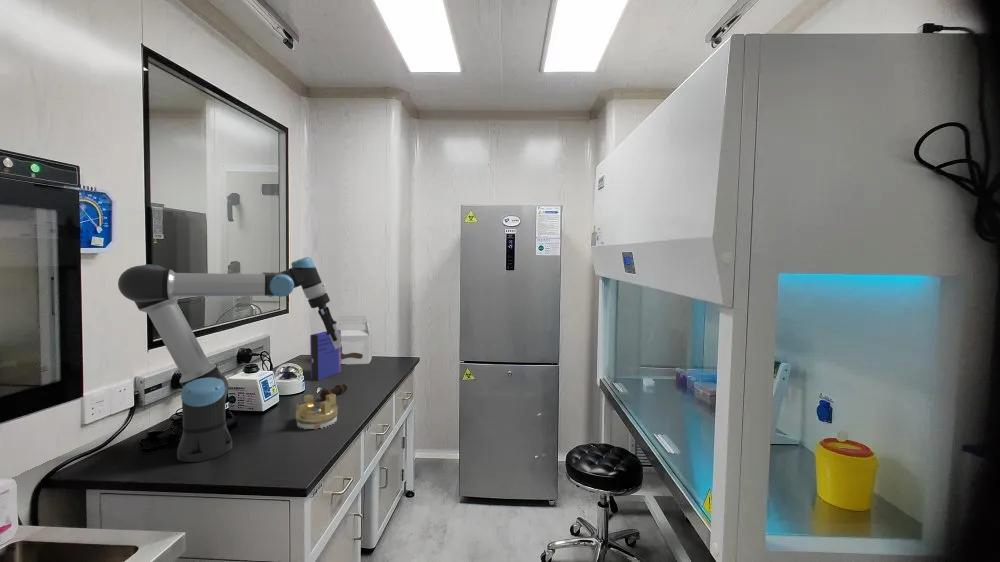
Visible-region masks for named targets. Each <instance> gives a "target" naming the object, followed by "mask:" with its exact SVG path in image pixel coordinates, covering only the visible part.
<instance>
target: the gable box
mask: <svg viewBox="0 0 1000 562" xmlns="http://www.w3.org/2000/svg"><path fill="white" fill-rule="evenodd" d="M336 319H337V320H336V323H335V325H336V327H337V330H339V325H364V327H365V328H364V329H347V330H346V329H344V330H341V329H340V330H341V342H349V343H355V342H363V344H364V345H363V348H362V351H361V353H359V352H350V353H343V346H342V347H341V364H346V365H368V364H370V363H371V361H372V359H373V357H372V355H373V354H372V351H373V349H372V347H373V346H372V342H373V340H372V335H373V334H372V329H371V321H368V320H367V318H366V316H365V315H362V316H361V315H360V316H358V315H357V316H338V317H337V318H336Z"/></svg>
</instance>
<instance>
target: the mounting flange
mask: <svg viewBox="0 0 1000 562" xmlns="http://www.w3.org/2000/svg"><path fill="white" fill-rule="evenodd" d="M337 421H338V416H337V417H335V418H334V419H332V420H330V421H327V422H323V423H317V424H303V423H299V422H297V421H296V426H297V428H299V427H300V428H299V429H301V428H304V429H303V430H306V429H314V430H319V429H318V428H321V429H324V428H323V427H325V428H328V427H330V426H329V425H331V426H333V425H334V424H336V423H337ZM335 422H336V423H335ZM332 424H333V425H332ZM327 426H328V427H327Z"/></svg>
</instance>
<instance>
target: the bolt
mask: <svg viewBox="0 0 1000 562" xmlns="http://www.w3.org/2000/svg"><path fill="white" fill-rule="evenodd" d="M347 390H348V386H347V385H346V384H336V385H335V386H334V387H333V388H331V389H327V388H323V389H322V390H321V392H320V394H319V398H320V399H321V401H323V400H326V395H329V394H335V395H336V396H337V395H342V394H341V393H343V394H344V392H346V391H347Z"/></svg>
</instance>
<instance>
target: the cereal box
mask: <svg viewBox="0 0 1000 562" xmlns="http://www.w3.org/2000/svg"><path fill="white" fill-rule="evenodd" d="M338 332H339V334H340V336H341V329H338ZM326 333H327V330H326V331H322V332H318V333H313V334H310V337H309V338H310V339H309V340H310V380H311V381H314V380H316V382H320V381H322V380H325V379H327V377H328V378H330V377H329V376H331V377H333V376H335V375H334V374H336V375H338V374H337V373H339V374H341V373H342V365H341V347H340V348H337V349H335V347H334V345H333V343H332V341H331V339H330V336H329V335H326ZM339 340H340V342H341V343H342V341H341V339H339ZM340 372H341V373H340ZM332 375H333V376H332ZM324 378H325V379H324ZM321 379H322V380H321ZM319 380H320V381H319Z"/></svg>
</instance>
